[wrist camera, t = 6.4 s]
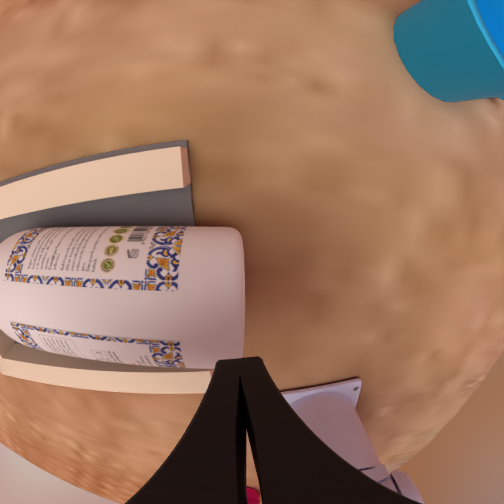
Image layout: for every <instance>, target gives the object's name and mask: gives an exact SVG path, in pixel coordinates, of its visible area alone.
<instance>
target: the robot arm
mask: <svg viewBox="0 0 504 504" xmlns="http://www.w3.org/2000/svg"><path fill="white" fill-rule="evenodd" d="M361 385H362V381H361V380H360V379H359V378H356V379H352V380H347V381H343V382H338V383H333V384H328V385H323V386H317V387H311V388H305V389H299V390H293V391H286V392H280V391H279V389H278V388H277V386H276V385H275V383H274V382H273V380H272V378H271V377H270V375H269V373H268V371H267V369H266V367H265V365H264V363H263V360H262V359H261V358H260V357H259V356H258V357H247V358H236V359H223V360H218V361H217V362H216V364H215V369H214V372H213V375H212V378H211V380H210V383H209V385H208V388H207V390H206V393H205V395H204V397H203V399H202V401H201V403H200V405H199V408H198V410H197V412H196V413H195V415H194V417H193V419H192V421H191V422H190V424H189V426H188V428H187V429H186V431H185V433H184V434H183V436H182V438H181V439H180V441H179V442H178V444H177V445H176V447H175V448H174V449H173V451H172V452H171V454H170V455H169V456H168V458H167V459H166V460H165V462H164V463H163V464H162V465H161V466H160V468H159V469H158V470H157V471H156V473H155V474H154V475H153V476H152V477H151V478H150V479H149V481H148V482H147V483H146V484H145V485H144V486H143V487H142V488H141V489H140V490H139V491H138V492H137V493H136V494H135V495H134V496H132V497H131V498H130V499H129V500H128V501H127V502H126V503H125V504H248V501H247V489H246V428H247V433H248V437H249V442H250V446H251V451H252V455H253V460H254V464H255V468H256V472H257V477H258V481H259V485H260V491H261V497H262V504H424V502H423V500H422V498H421V496H420V494H419V492H418V490H417V488H416V486H415V484H414V482H413V481H412V479H411V477H410V476H409V475H408V474H407V473H406V472H403V471H399V470H394V471H392V472H390V476H389V474H388V471H387V469H386V467H385V465H384V464H382V465H381V462H380V460H379V458H378V456H377V454H376V452H375V450H374V447H373V445H372V443H371V441H370V439H369V437H368V435H367V433H366V431H365V428H364V426H363V424H362V422H361V420H360V418H359V416H358V414H357V412H356V410H355V408H356V404H357V401H358V397H359V393H360V389H361ZM390 477H391V478H390Z"/></svg>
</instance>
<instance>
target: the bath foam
mask: <svg viewBox="0 0 504 504" xmlns="http://www.w3.org/2000/svg"><path fill="white" fill-rule="evenodd" d="M0 329H1V330H2V331H3V332H4V333H5V334H7V335H8V336H9V337H11V338H12V339H14V340H15V341H17V342H19V343H21V344H23V345H25V346H28V347H30V348H33V349H37V350H42V351H47V352H51V353H57V354H62V355H67V356H73V357H79V358H85V359H92V360H99V361H106V362H114V363H122V364H132V365H142V366H154V367H169V368H200V369H215V364H216V362H217V361H218V360H223V359H236V358H242V356H243V349H244V333H245V266H244V249H243V241H242V237H241V234H240V233H239V231H238V230H236V229H234V228H231V227H189V226H103V227H55V228H34V229H30V230H25V231H22V232H19V233H16V234H14V235H12V236H10V237H8V238H7V239H5V240H4V241H3V242H2V243H0Z"/></svg>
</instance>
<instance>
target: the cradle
mask: <svg viewBox="0 0 504 504" xmlns="http://www.w3.org/2000/svg"><path fill="white" fill-rule="evenodd" d="M103 226H189V227H195V219H194V209H193V199H192V188H191V176H190V164H189V150H188V140H180V141H172V142H165V143H158V144H151V145H145V146H139V147H133V148H127V149H122V150H117V151H111V152H107V153H102V154H97V155H93V156H88V157H84V158H80V159H76V160H71V161H68V162H64V163H60V164H56V165H53V166H49V167H45V168H42V169H39V170H35V171H32V172H29V173H26V174H23V175H19V176H16V177H13V178H10V179H8V180H5V181H2V182H0V243H2V242H3V241H4V240H5V239H7V238H8V237H10V236H12V235H14V234H16V233H19V232H22V231H25V230H30V229H34V228H55V227H103ZM0 372H1V374H4V375H8V376H12V377H16V378H21V379H26V380H31V381H36V382H41V383H47V384H53V385H59V386H66V387H73V388H81V389H90V390H100V391H112V392H127V393H152V394H190V393H206V390H207V388H208V385H209V383H210V380H211V378H212V375H213V372H214V369H200V368H169V367H154V366H142V365H132V364H122V363H114V362H106V361H99V360H92V359H85V358H79V357H73V356H67V355H62V354H57V353H51V352H47V351H42V350H37V349H33V348H30V347H28V346H25V345H23V344H21V343H19V342H17V341H15V340H14V339H12V338H11V337H9V336H8V335H7V334H5V333H4V332H3V331H2V330H1V329H0Z"/></svg>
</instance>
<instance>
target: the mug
mask: <svg viewBox="0 0 504 504" xmlns="http://www.w3.org/2000/svg"><path fill="white" fill-rule="evenodd" d="M394 41H395V44H396V47H397V50H398V54H399V57H400V58H401V60H402V62H403V64H404V65H405V67H406V69H407V71H408V72H409V74H410V75H411V76H412V77H413V78H414V80H415V81H416V82H417V83H418V85H419V86H420V87H422V88H423V89H424V90H425V91H426V92H428V93H429V94H430V95H431V96H433V97H435V98H437V99H440V100H442V101H446V102H458V101H466V100H474V99H484V98H494V97H498V98H500V99H503V100H504V0H421V1H420V2H418V3H416V4H415V5H413V6H412V7H410V8H409V9H407V10H406V11H404V12H403V13H402V14H401V15H399V16H398V17H397V19H396V22H395V25H394Z"/></svg>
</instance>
